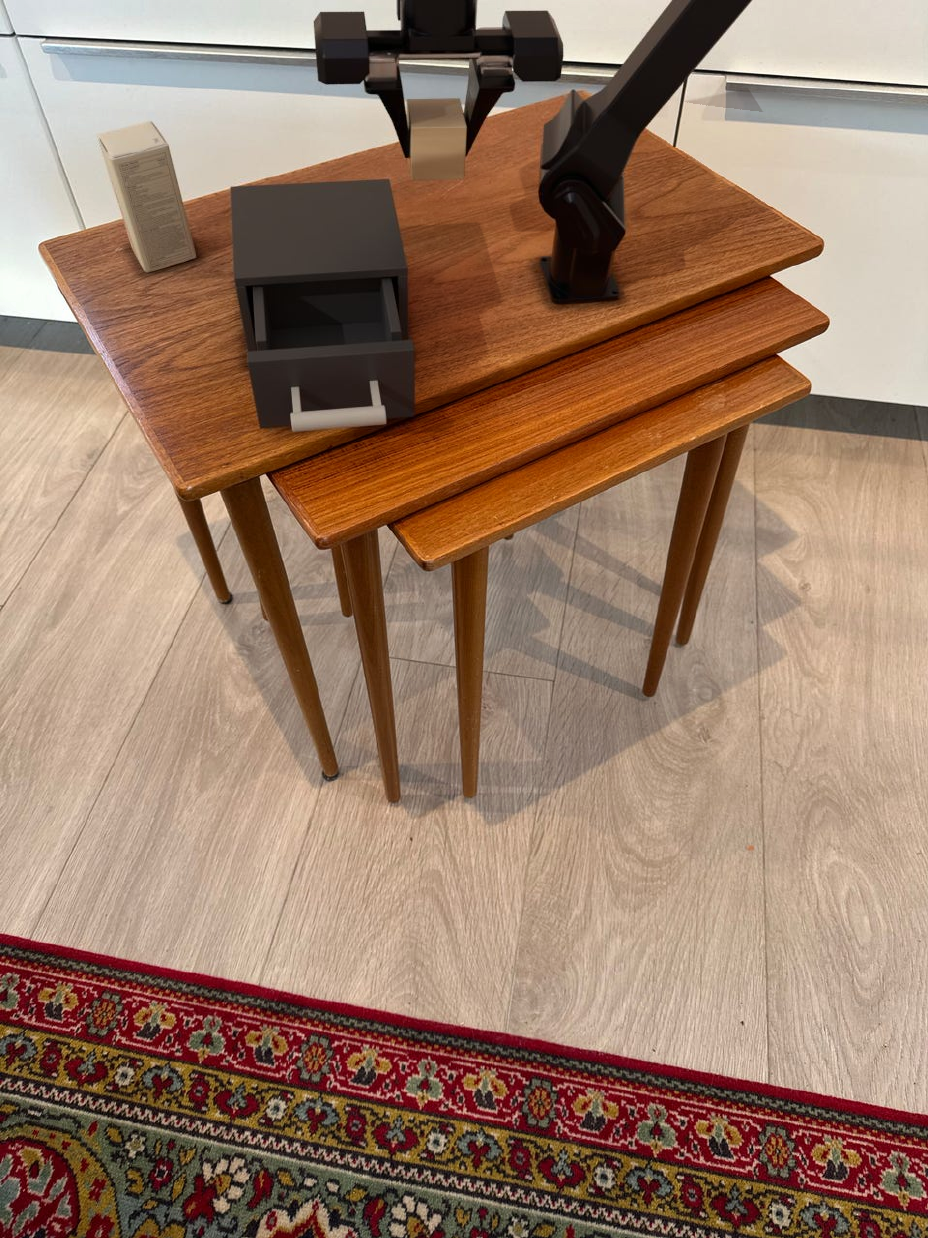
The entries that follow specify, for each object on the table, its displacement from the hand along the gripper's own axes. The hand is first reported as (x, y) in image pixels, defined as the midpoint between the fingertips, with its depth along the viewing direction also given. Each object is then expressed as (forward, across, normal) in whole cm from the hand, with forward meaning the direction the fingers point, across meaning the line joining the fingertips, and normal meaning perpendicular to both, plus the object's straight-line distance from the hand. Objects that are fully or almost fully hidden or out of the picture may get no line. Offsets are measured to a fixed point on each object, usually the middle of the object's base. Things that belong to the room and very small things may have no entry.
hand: (435, 154), depth 78 cm
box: (+11, +25, -4) cm, 28 cm away
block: (+1, 0, 0) cm, 1 cm away
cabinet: (+11, +10, +6) cm, 16 cm away
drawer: (+10, +10, +17) cm, 22 cm away
